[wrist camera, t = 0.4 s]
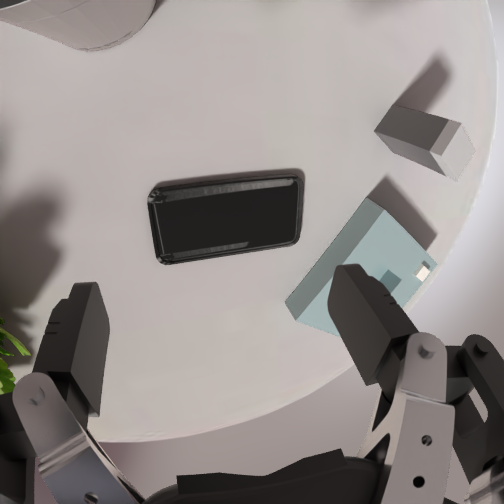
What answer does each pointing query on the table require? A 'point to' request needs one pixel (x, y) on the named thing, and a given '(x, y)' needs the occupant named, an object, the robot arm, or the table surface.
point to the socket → (363, 264)
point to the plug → (427, 140)
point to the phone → (225, 217)
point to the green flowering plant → (3, 379)
